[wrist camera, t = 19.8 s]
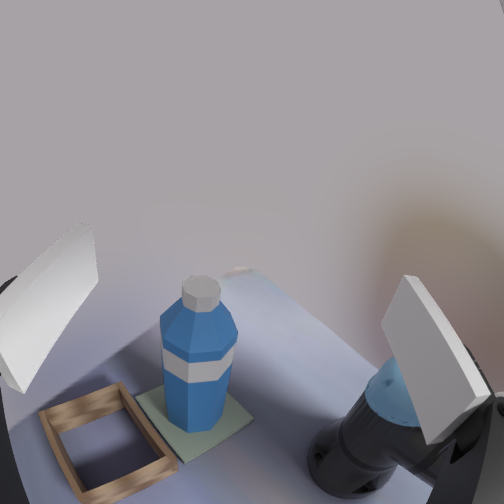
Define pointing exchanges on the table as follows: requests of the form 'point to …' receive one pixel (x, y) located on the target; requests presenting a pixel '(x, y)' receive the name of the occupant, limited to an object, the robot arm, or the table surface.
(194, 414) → the water bottle
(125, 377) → the table surface
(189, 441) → the mat
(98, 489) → the wooden frame
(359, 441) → the robot arm
